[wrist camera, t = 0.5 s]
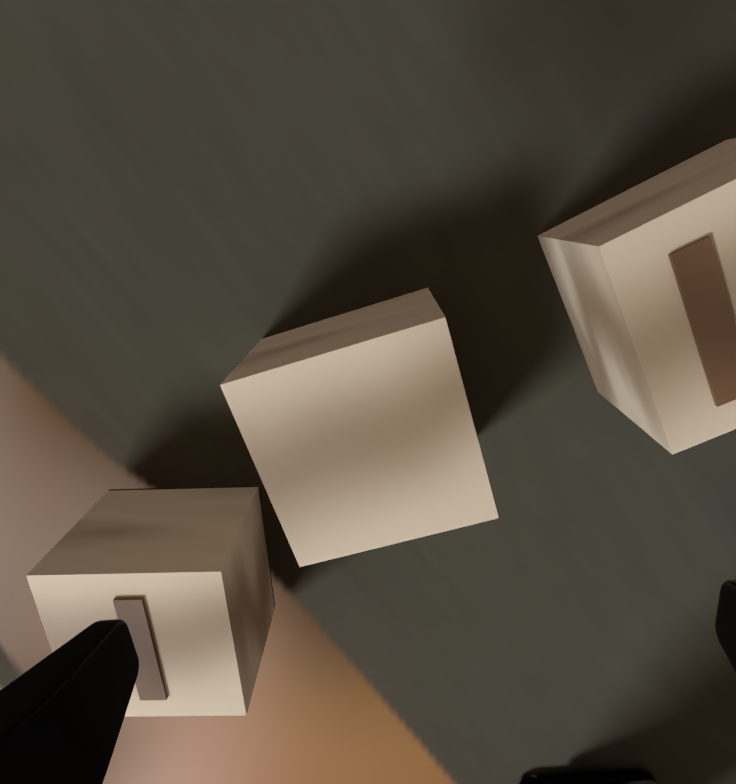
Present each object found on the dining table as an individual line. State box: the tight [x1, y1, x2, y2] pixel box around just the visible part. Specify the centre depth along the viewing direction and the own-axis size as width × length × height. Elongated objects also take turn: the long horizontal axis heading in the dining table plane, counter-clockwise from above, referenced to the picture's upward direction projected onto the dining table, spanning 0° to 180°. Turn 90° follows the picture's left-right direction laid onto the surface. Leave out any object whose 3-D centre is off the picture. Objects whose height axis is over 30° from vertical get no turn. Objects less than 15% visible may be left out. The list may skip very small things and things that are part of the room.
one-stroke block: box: [26, 487, 275, 717], centre depth 19 cm, size 6×6×5 cm
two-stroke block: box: [538, 138, 736, 455], centre depth 14 cm, size 6×6×5 cm
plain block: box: [220, 288, 499, 567], centre depth 16 cm, size 6×6×5 cm
